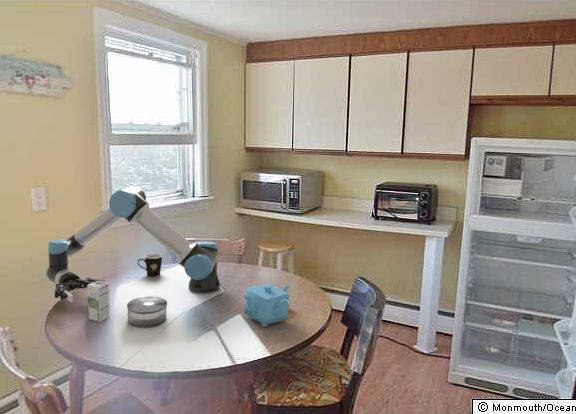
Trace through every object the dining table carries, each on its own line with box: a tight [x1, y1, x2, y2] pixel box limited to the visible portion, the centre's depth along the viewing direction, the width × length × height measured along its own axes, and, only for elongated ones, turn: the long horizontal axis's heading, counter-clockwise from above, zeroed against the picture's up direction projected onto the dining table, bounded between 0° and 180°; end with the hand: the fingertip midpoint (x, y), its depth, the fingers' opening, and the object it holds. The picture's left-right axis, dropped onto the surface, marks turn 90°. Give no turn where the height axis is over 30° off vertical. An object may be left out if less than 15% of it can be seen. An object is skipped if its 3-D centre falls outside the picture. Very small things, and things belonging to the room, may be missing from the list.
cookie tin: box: [126, 295, 168, 329], centre depth 165 cm, size 15×15×7 cm
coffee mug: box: [136, 253, 163, 278], centre depth 217 cm, size 12×9×10 cm
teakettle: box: [241, 283, 292, 325], centre depth 171 cm, size 19×19×15 cm
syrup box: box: [86, 281, 110, 323], centre depth 163 cm, size 6×6×14 cm
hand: (89, 294), depth 167 cm, fingers open, 13 cm apart
